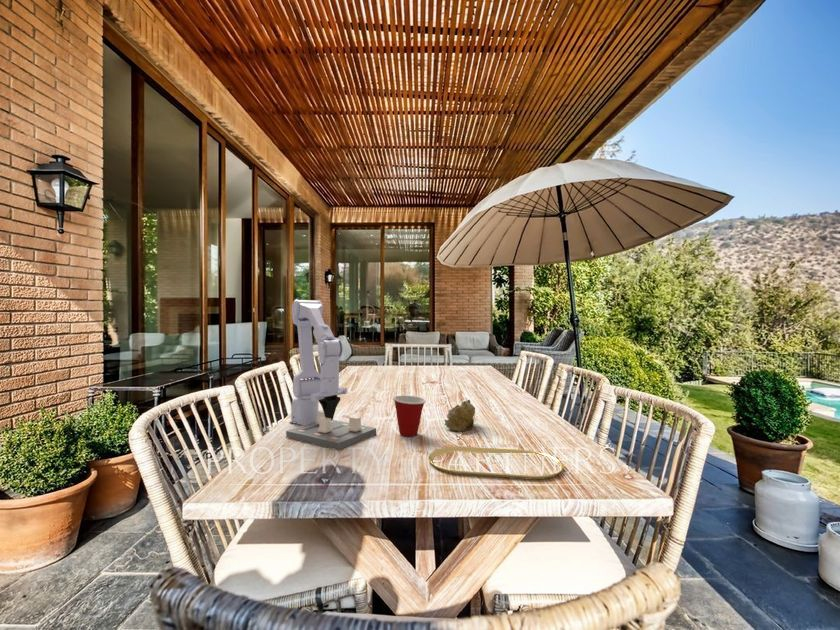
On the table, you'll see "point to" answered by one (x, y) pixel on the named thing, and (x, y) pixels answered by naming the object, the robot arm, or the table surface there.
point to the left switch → (320, 415)
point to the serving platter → (486, 450)
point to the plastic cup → (408, 414)
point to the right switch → (354, 423)
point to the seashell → (461, 417)
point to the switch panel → (331, 434)
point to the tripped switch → (324, 425)
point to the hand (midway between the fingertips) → (329, 419)
